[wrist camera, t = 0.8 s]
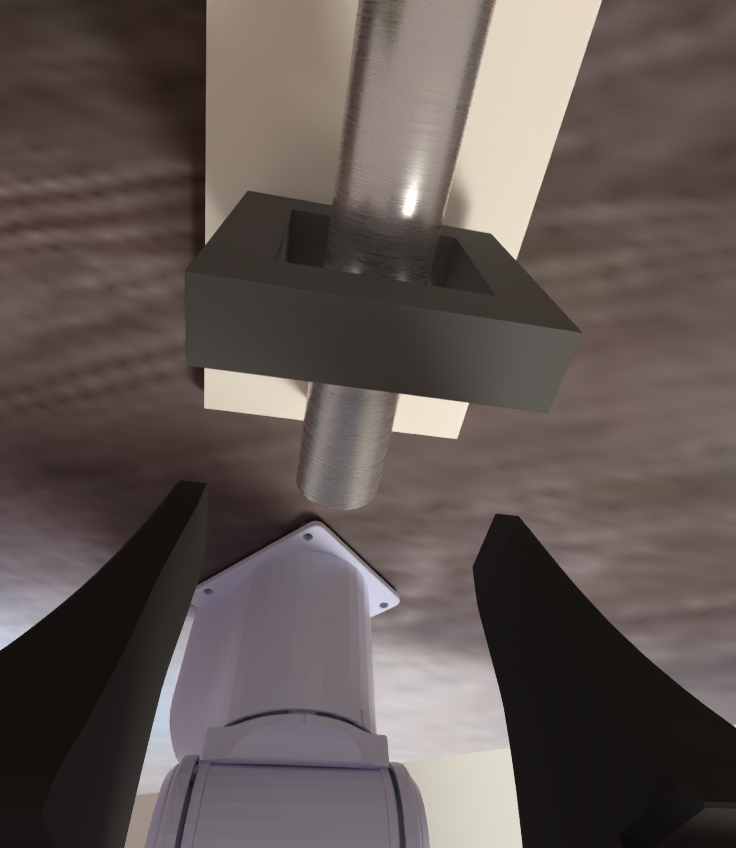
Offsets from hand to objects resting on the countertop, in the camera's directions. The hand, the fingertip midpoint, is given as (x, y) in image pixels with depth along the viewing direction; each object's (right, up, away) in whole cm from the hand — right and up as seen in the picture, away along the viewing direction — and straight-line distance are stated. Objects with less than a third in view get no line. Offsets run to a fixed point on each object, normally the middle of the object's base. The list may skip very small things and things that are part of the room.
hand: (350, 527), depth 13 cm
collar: (0, +9, +4) cm, 10 cm away
